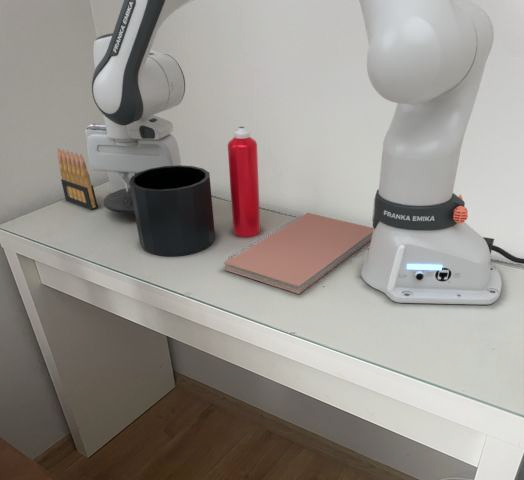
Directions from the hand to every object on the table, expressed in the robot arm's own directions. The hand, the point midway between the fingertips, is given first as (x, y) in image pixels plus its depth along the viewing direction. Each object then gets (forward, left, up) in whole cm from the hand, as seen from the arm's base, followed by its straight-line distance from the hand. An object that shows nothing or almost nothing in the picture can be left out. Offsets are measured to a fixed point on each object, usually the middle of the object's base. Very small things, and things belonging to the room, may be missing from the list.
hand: (139, 192), depth 115 cm
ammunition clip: (+17, -2, -5) cm, 18 cm away
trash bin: (-14, +12, -5) cm, 19 cm away
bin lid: (0, 0, -2) cm, 2 cm away
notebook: (-39, +12, -5) cm, 41 cm away
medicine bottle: (+10, -13, -5) cm, 17 cm away
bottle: (-26, +5, -5) cm, 27 cm away
